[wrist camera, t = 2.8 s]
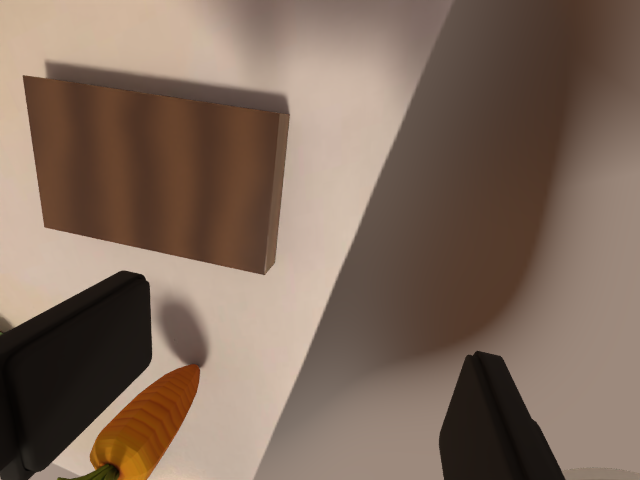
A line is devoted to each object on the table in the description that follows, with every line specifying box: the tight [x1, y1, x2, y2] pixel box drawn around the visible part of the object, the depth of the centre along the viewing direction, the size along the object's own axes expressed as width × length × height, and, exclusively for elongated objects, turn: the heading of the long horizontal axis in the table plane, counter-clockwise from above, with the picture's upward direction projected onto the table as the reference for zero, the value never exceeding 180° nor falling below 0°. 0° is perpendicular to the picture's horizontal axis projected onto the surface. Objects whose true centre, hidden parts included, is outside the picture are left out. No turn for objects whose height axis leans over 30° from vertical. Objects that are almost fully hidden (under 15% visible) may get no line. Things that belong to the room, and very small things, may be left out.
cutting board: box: [23, 75, 290, 275], centre depth 27 cm, size 20×12×2 cm, turn 82°
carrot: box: [57, 364, 200, 480], centre depth 28 cm, size 5×5×15 cm
